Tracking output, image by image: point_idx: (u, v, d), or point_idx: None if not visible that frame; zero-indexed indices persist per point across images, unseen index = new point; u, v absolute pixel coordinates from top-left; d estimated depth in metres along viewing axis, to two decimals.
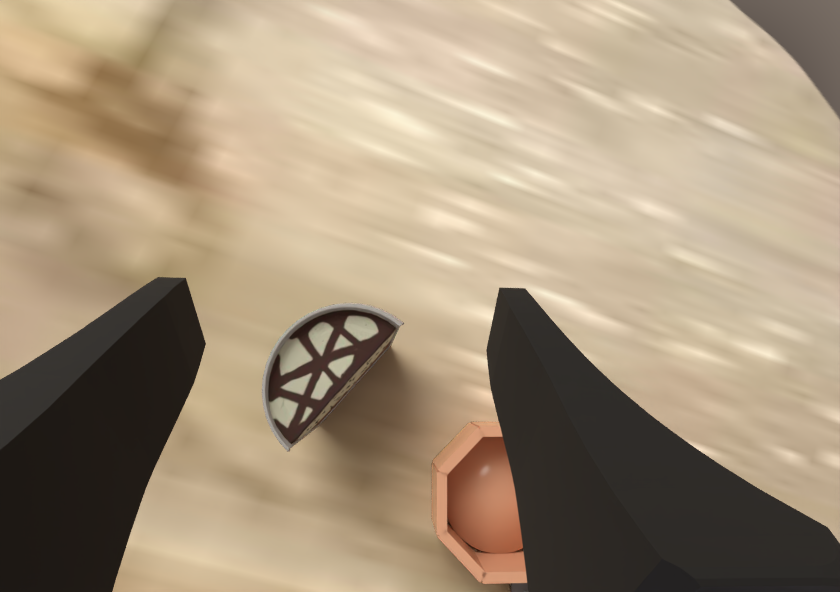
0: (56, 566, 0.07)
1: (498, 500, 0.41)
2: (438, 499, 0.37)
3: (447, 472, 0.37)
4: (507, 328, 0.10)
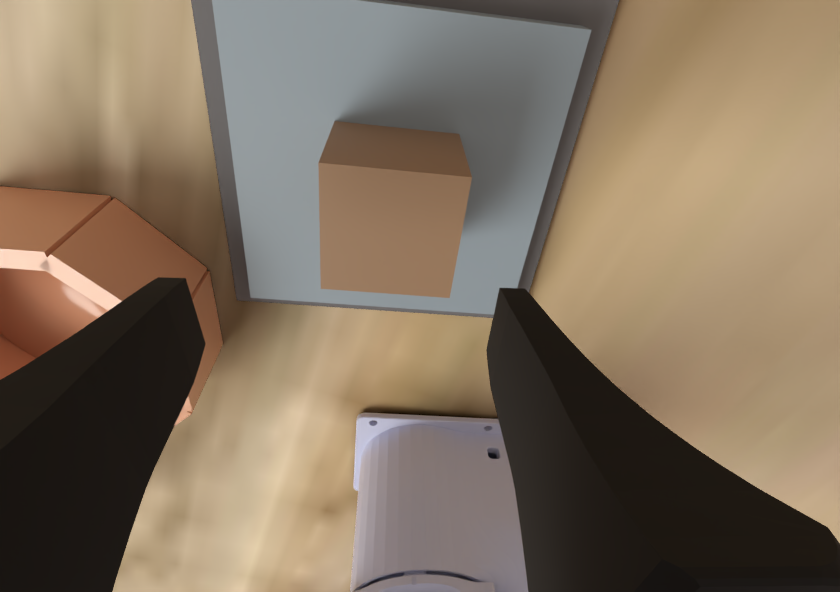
0: (56, 566, 0.07)
1: (103, 310, 0.22)
2: None
3: None
4: (507, 328, 0.10)
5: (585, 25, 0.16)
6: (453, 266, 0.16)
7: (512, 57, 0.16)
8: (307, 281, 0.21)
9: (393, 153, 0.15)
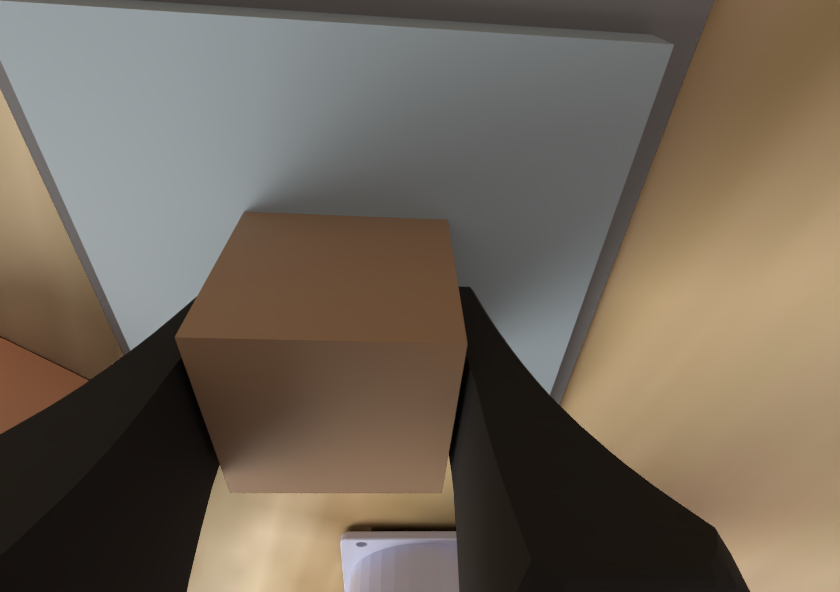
0: (146, 565, 0.07)
1: None
2: None
3: None
4: None
5: (657, 33, 0.09)
6: (444, 458, 0.09)
7: (532, 98, 0.09)
8: None
9: (327, 289, 0.08)
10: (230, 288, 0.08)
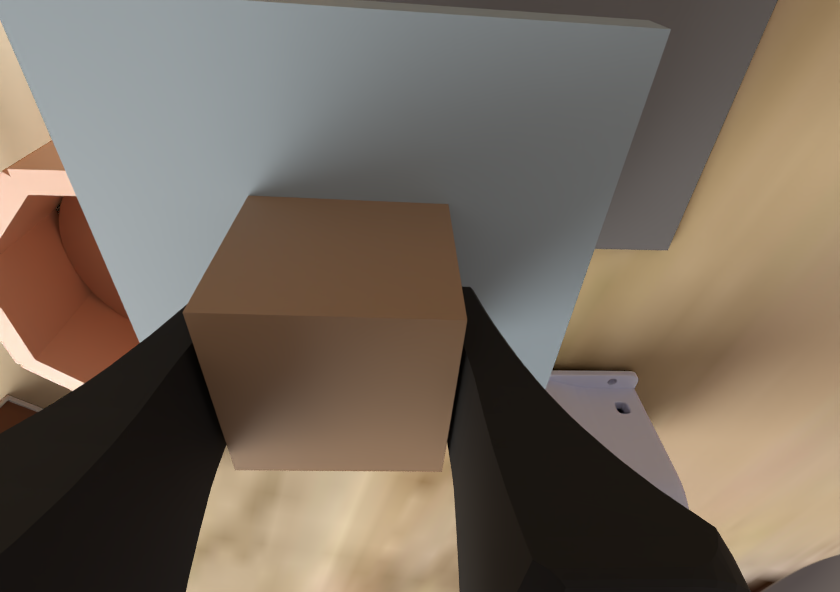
0: (145, 565, 0.07)
1: None
2: None
3: None
4: None
5: None
6: (444, 435, 0.10)
7: (531, 83, 0.09)
8: None
9: (331, 268, 0.09)
10: (236, 267, 0.08)
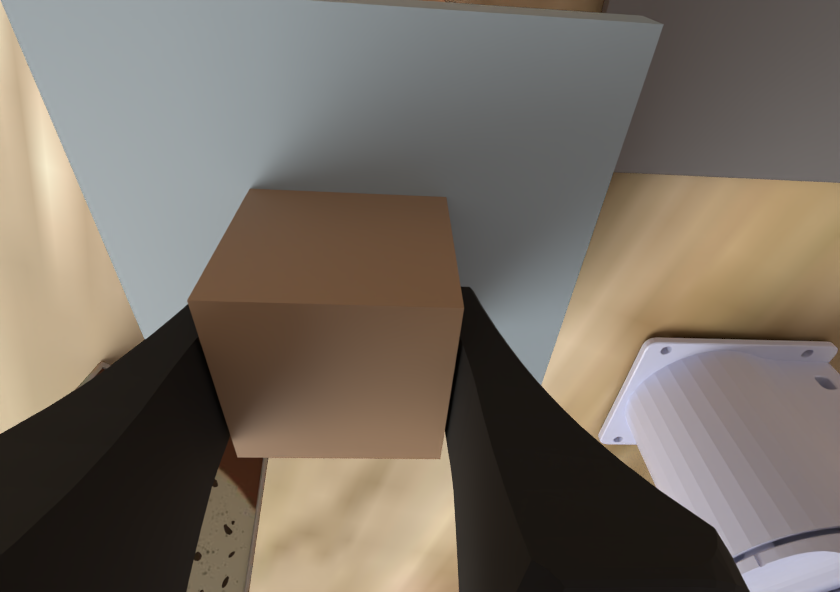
0: (147, 565, 0.07)
1: None
2: None
3: None
4: None
5: None
6: (442, 423, 0.10)
7: (527, 77, 0.09)
8: None
9: (330, 259, 0.09)
10: (238, 257, 0.09)
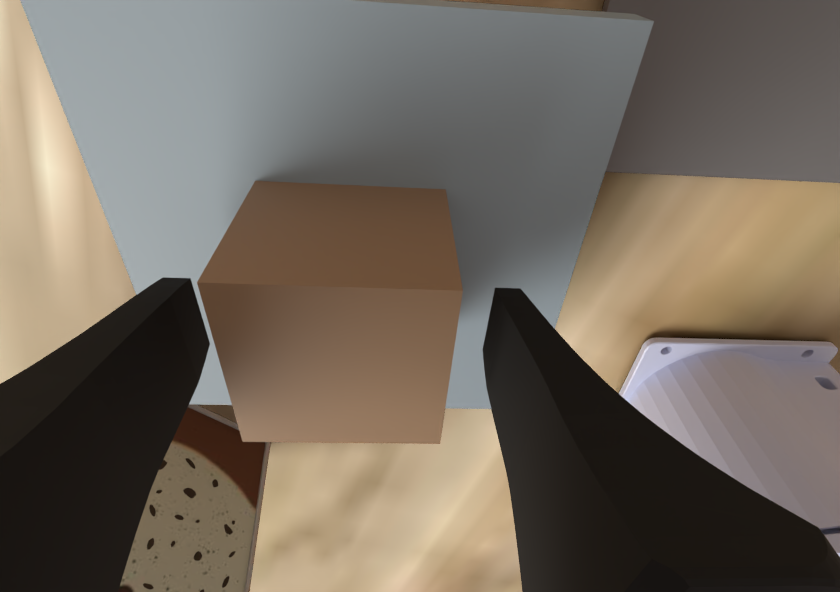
0: (64, 566, 0.07)
1: None
2: None
3: None
4: (502, 328, 0.10)
5: None
6: (442, 406, 0.10)
7: (523, 72, 0.10)
8: None
9: (334, 246, 0.09)
10: (245, 243, 0.09)
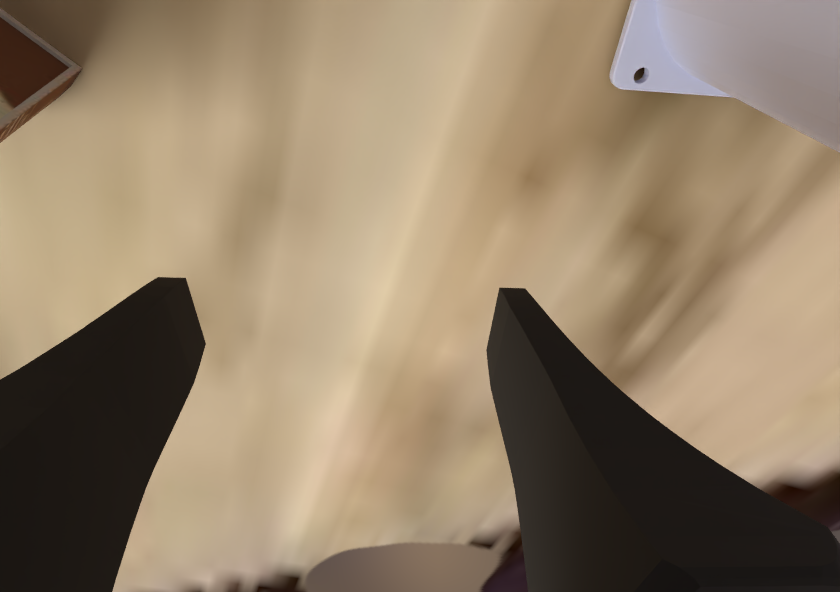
0: (56, 566, 0.07)
1: None
2: None
3: None
4: (507, 328, 0.10)
5: None
6: None
7: None
8: None
9: None
10: None
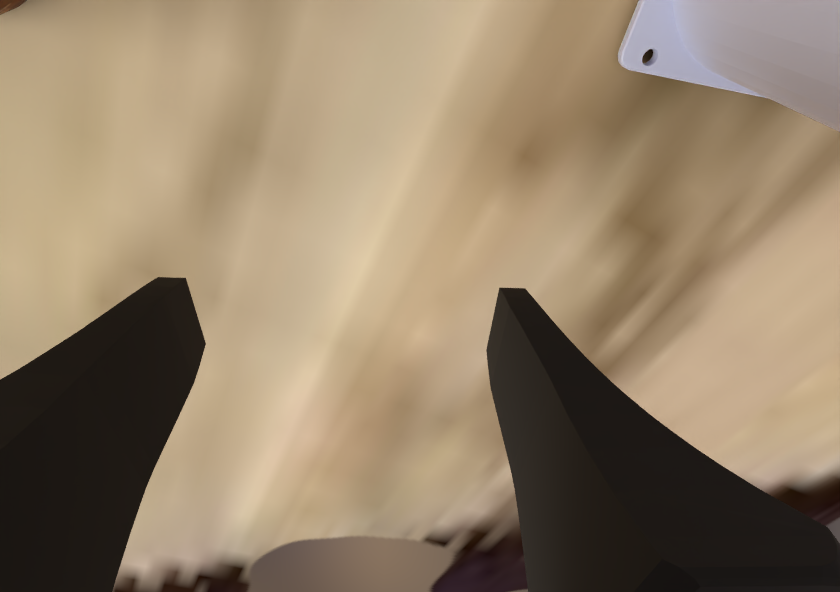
0: (56, 566, 0.07)
1: None
2: None
3: None
4: (507, 328, 0.10)
5: None
6: None
7: None
8: None
9: None
10: None
